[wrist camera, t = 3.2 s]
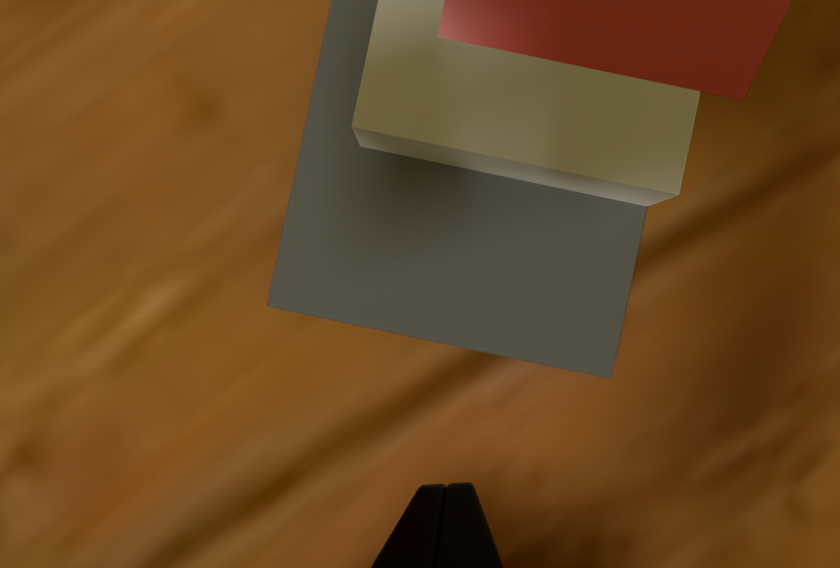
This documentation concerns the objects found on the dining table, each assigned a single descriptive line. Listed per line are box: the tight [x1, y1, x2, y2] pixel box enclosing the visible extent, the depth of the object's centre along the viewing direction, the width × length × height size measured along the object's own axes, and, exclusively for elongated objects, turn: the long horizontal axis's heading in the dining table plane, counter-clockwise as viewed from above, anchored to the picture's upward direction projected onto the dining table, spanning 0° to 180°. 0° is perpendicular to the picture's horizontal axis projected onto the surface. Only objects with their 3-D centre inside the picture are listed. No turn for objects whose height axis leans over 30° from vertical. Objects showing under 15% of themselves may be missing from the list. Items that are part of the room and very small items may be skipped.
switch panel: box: [267, 0, 701, 379], centre depth 19 cm, size 16×12×5 cm
